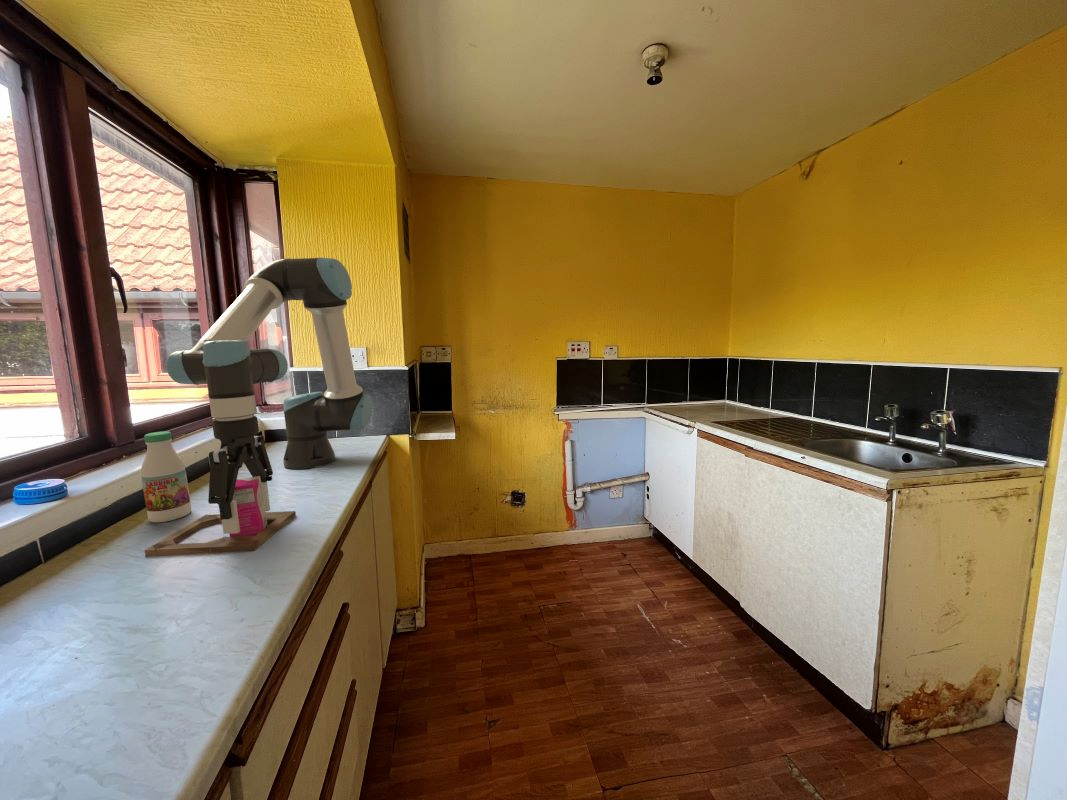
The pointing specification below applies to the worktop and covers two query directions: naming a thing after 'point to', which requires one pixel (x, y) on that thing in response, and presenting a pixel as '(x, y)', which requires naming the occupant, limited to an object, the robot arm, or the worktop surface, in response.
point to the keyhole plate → (222, 544)
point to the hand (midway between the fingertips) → (248, 521)
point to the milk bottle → (164, 480)
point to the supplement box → (250, 506)
